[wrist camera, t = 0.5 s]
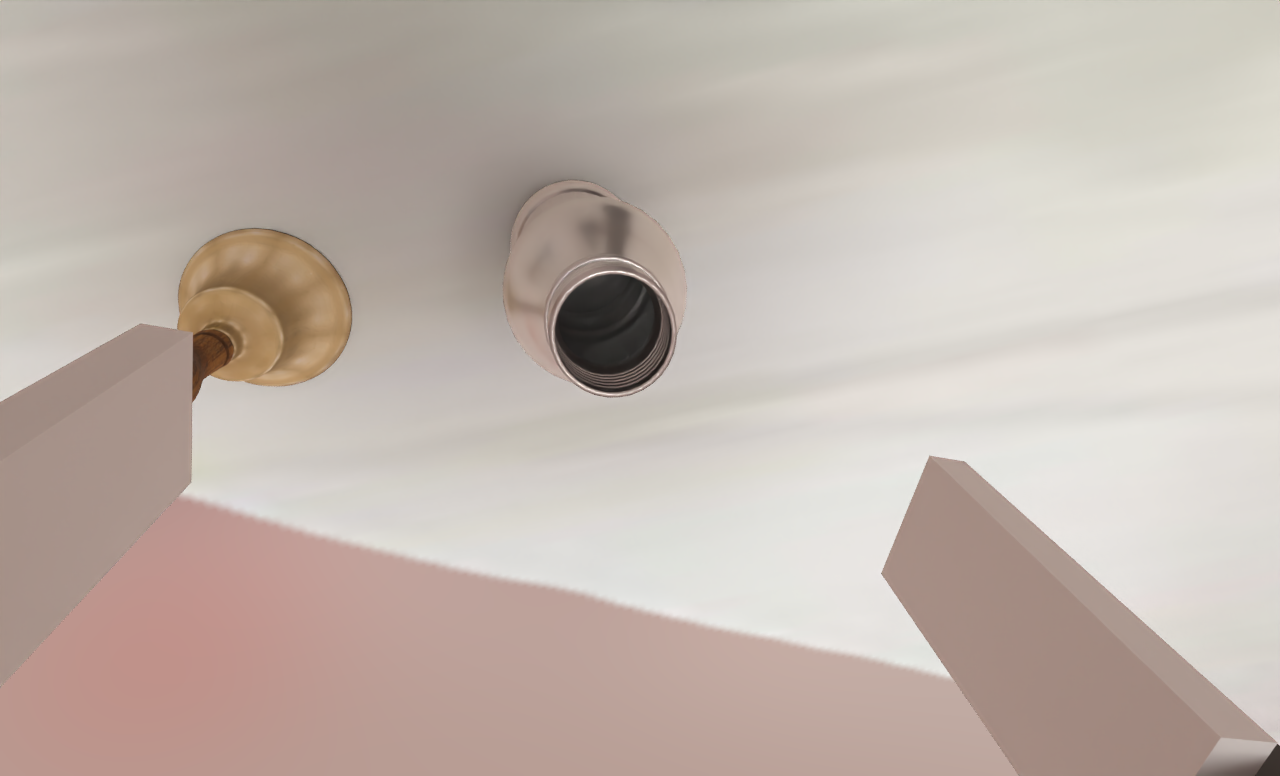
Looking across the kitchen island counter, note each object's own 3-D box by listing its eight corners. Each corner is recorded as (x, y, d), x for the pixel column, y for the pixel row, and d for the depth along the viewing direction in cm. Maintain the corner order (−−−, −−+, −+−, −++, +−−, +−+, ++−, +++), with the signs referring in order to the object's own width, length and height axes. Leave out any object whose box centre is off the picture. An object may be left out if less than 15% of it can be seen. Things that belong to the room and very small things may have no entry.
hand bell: (369, 372, 39) (272, 512, 24) (210, 397, 39) (9, 558, 24) (328, 217, 37) (191, 269, 22) (157, 240, 36) (-110, 310, 21)
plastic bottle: (533, 318, 40) (537, 475, 21) (494, 195, 37) (459, 248, 19) (646, 286, 40) (749, 412, 21) (614, 162, 38) (698, 181, 19)
